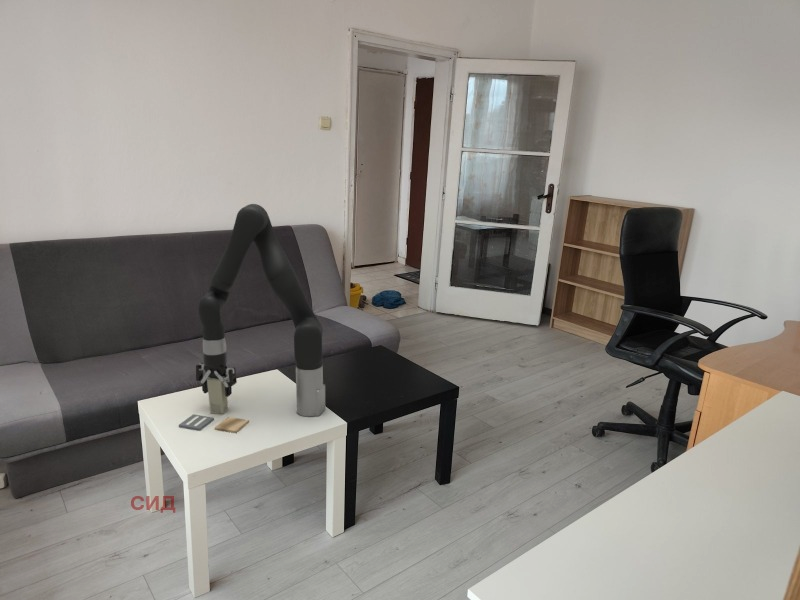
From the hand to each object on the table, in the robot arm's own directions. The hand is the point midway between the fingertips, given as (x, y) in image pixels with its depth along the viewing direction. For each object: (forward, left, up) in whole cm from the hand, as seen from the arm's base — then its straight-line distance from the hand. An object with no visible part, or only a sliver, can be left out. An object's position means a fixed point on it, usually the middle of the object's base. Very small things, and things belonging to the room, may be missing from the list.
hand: (217, 394), depth 194 cm
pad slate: (+2, +10, -7) cm, 12 cm away
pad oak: (-10, +8, -7) cm, 14 cm away
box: (0, 0, -7) cm, 7 cm away
